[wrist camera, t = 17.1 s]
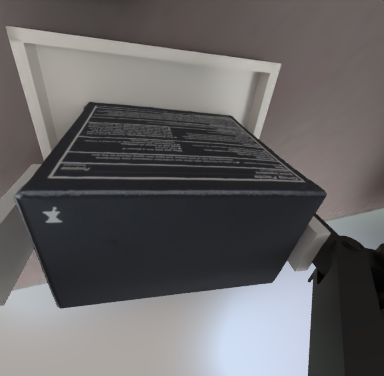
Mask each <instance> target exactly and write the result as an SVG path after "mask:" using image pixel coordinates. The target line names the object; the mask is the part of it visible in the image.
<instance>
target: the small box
mask: <svg viewBox="0 0 384 376" xmlns="http://www.w3.org/2000/svg"><path fill="white" fill-rule="evenodd" d="M326 195H327V194H326V192H325V191H324V190H323V189H322V188H321V187H319V186H318V185H317V184H315V183H314V182H312V181H311V180H308V179H307V178H306V177H305V176H303V175H302V174H301V173H299V172H298V171H297V170H295V169H294V168H292V167H291V166H290V165H289V164H288V163H286V162H285V161H284V160H283V159H281V158H280V157H279V156H278V155H276V154H275V153H274V152H273V151H272V150H271V149H269V148H268V147H267V146H266V145H265V144H263V143H262V142H261V141H260V140H259V139H257V138H256V137H255V136H254V135H253V134H252V133H250V132H249V131H248V130H247V129H246V128H244V127H243V126H242V125H241V124H240V123H239V122H238V121H237V120H236V119H235V118H234V117H233V116H230V115H220V114H210V113H199V112H192V111H180V110H170V109H160V108H153V107H140V106H131V105H119V104H106V103H95V102H89V103H88V104H87V105H86V106H84V110H83V112H82V113H81V115H80V116H79V117H78V118H77V120H76V121H75V122H74V123H73V125H72V126H71V127H70V129H69V130H68V131H67V132H66V133H65V135H64V136H63V137H62V138H61V140H60V141H59V143H58V144H57V145H56V146H55V147H54V149H53V150H52V151H51V153H50V154H49V155H48V156H47V158H46V159H45V161H44V162H43V163H42V165H41V166H40V167H39V168H38V169H37V171H36V172H35V173H34V175H33V176H32V178H31V179H30V180H29V181H28V182H27V183H26V184H24V185H23V186H22V187H21V188H20V189H19V190H18V191H17V193H16V194H15V195H14V201H15V203H16V205H17V208H18V210H19V212H20V214H21V217H22V219H23V221H24V223H25V226H26V229H27V231H28V234H29V236H30V239H31V242H32V244H33V247H34V249H35V252H36V254H37V257H38V259H39V261H40V264H41V267H42V270H43V272H44V274H45V277H46V279H47V283H48V284H49V287H50V289H51V292H52V295H53V297H54V299H55V302H56V305H57V306H58V307H59V308H67V307H76V306H85V305H93V304H100V303H108V302H116V301H125V300H134V299H141V298H149V297H158V296H166V295H174V294H181V293H190V292H199V291H207V290H215V289H224V288H232V287H240V286H249V285H257V284H266V283H272V282H273V281H274V280H275V278H276V277H277V275H278V274H279V272H280V271H281V269H282V267H283V266H284V264H285V263H286V261H287V259H288V258H289V256H290V254H291V252H292V251H293V249H294V248H295V246H296V244H297V242H298V241H299V239H300V237H301V236H302V234H303V232H304V231H305V229H306V227H307V226H308V224H309V222H310V221H311V219H312V218H313V216H314V214H315V213H316V211H317V210H318V208H319V206H320V205H321V203H322V202H323V200H324V199H325V197H326Z"/></svg>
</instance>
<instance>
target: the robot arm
mask: <svg viewBox="0 0 384 376" xmlns="http://www.w3.org/2000/svg"><path fill="white" fill-rule="evenodd" d="M41 165H42V164H32V165H31V166H30V167H29V168H28V169H27V170H26V171H25V172H24V174H23V175H22V176H21V177H20V178H19V179H18V180H17V181H16V182H15V183H14V184H13V185H12V187H11V188H10V189H9V190H8V191H7V192H6V193H5V194H4V195H3V196H2V197H1V199H0V306H2V305H4V304H5V302H6V300H7V299H8V296H9V295H10V293H11V291H12V289H13V287H14V285H15V283H16V281H17V280H18V278H19V276H20V274H21V272H22V270H23V268H24V266H25V264H26V263H27V261H28V259H29V257H30V255H31V253H32V251H33V249H34V247H33V244H32V242H31V239H30V236H29V234H28V231H27V229H26V226H25V223H24V221H23V219H22V217H21V214H20V212H19V210H18V208H17V205H16V203H15V201H14V195H15V194H16V193H17V191H18V190H19V189H20V188H21V187H22V186H23V185H24V184H26V183H27V182H28V181H29V180H30V179H31V178H32V176H33V175H34V173H35V172H36V171H37V169H38V168H39V167H40V166H41ZM287 261H288V262H289V264H290V265H291V267H292V268H293V269H294V271H303V270H308V268H309V266H310V265H311V263H313V264H314V265H315V267H316V269H315V270H314V272H313V273H312V275H311V276H310V278H309V279H308V282H311V280H312V279H313V293H312V311H311V330H310V348H309V366H308V376H384V244H381V245H380V246H379V247H378V248H377V249H376V250H373V249H368V248H364V246H363V245H361V244H360V243H359V242H358V241H356V240H354V239H352V238H350V237H347V236H339V235H338V234H337V233H336V232H335V231H334V230H333V229H332V228H331V227H329V225H328V224H326V223H325V222H324V221H323V220H322V219H321V218H320V217H319V216H318V215H317V214H316V213H315V214H314V216H313V218H312V219H311V221H310V222H309V224H308V226H307V227H306V229H305V231H304V232H303V234H302V236H301V237H300V239H299V241H298V242H297V244H296V246H295V248H294V249H293V251H292V252H291V254H290V256H289V258H288V259H287Z"/></svg>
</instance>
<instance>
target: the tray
mask: <svg viewBox="0 0 384 376" xmlns="http://www.w3.org/2000/svg"><path fill="white" fill-rule="evenodd" d="M5 27H6V31H7V34H8V38H9V41H10V45H11V48H12V52H13V55H14V59H15V62H16V65H17V69H18V72H19V76H20V79H21V83H22V86H23V90H24V93H25V97H26V100H27V104H28V107H29V111H30V114H31V118H32V121H33V125H34V128H35V132H36V135H37V139H38V142H39V146H40V149H41V153H42V156H43V160H44V161H45V159H46V158H47V156H48V155H49V154H50V153H51V151H52V150H53V149H54V147H55V146H56V145H57V144H58V143H59V141H60V140H61V138H62V137H63V136H64V135H65V133H66V132H67V131H68V130H69V129H70V127H71V126H72V125H73V123H74V122H75V121H76V120H77V118H78V117H79V116H80V115H81V113H82V112H83V110H84V106H86V105H87V104H88V103H89V102H95V103H106V104H119V105H131V106H140V107H153V108H160V109H170V110H180V111H192V112H199V113H210V114H220V115H230V116H233V117H234V118H235V119H236V120H237V121H238V122H239V123H240V124H241V125H242V126H243V127H244V128H246V129H247V130H248V131H249V132H250V133H252V134H253V135H254V136H255V137H256V138H257V139H259V138H260V135H261V131H262V128H263V125H264V121H265V118H266V114H267V111H268V108H269V104H270V101H271V97H272V94H273V91H274V87H275V84H276V81H277V77H278V74H279V70H280V67H281V64H280V63H272V62H265V61H258V60H251V59H243V58H236V57H229V56H222V55H214V54H207V53H200V52H192V51H185V50H178V49H171V48H163V47H156V46H149V45H142V44H134V43H127V42H120V41H113V40H105V39H98V38H91V37H84V36H76V35H69V34H62V33H55V32H47V31H40V30H33V29H25V28H18V27H11V26H5Z"/></svg>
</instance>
